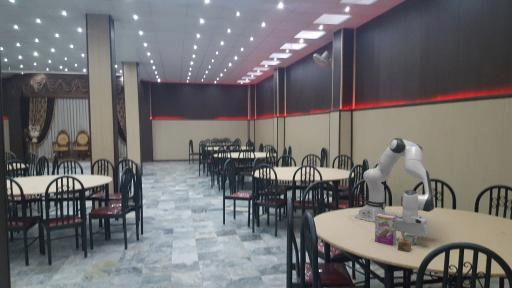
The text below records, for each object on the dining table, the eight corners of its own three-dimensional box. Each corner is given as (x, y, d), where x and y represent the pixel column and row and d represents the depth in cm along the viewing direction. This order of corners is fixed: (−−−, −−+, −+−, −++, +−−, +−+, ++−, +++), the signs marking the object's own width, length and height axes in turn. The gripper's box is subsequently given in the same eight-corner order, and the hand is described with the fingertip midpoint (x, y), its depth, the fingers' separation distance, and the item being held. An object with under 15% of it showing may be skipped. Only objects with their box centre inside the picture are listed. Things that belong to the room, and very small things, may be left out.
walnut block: (397, 250, 197) (397, 241, 197) (400, 246, 202) (400, 238, 202) (409, 252, 193) (409, 243, 193) (411, 248, 198) (411, 240, 198)
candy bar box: (374, 241, 211) (375, 215, 211) (378, 239, 215) (378, 213, 214) (393, 245, 204) (393, 218, 203) (396, 243, 208) (396, 216, 207)
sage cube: (404, 243, 208) (404, 235, 208) (407, 241, 211) (407, 234, 211) (412, 244, 205) (412, 237, 205) (414, 243, 208) (415, 235, 208)
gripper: (390, 215, 212) (390, 237, 213) (425, 222, 198) (425, 245, 199) (395, 213, 217) (394, 235, 218) (429, 219, 203) (429, 243, 203)
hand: (409, 240), depth 208 cm, fingers closed on sage cube, 4 cm apart
